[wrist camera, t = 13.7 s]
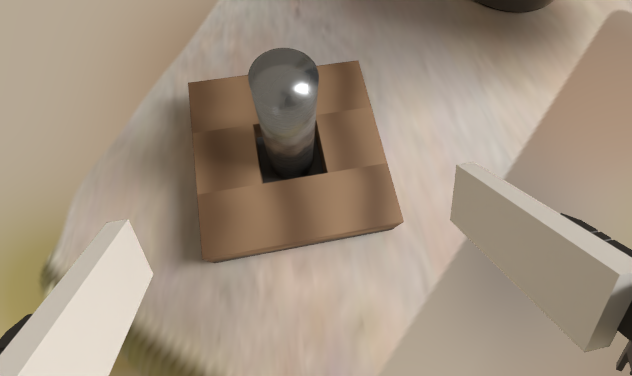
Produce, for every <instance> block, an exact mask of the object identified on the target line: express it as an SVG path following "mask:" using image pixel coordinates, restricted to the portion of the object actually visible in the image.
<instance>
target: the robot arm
mask: <svg viewBox="0 0 632 376" xmlns="http://www.w3.org/2000/svg"><path fill="white" fill-rule="evenodd" d="M476 1H478V2H480V3H482V4H484V5H486V6H489V7H492V8H495V9H499V10H503V11H510V12H526V11H533V10H536V9H540V8H542V7H544V6H546V5H548V4H550V3H551V2H552V1H553V0H476ZM450 220H451V221H452V222H453V223H454V224H455V225H456V226H457V227H458V228H459V229H460V230H461V231H462V232H463V233H464V234H465V235H466V236H467V237H468V238H469V239H470V240H471V241H472V242H473V243H474V244H475V245H476V246H477V247H478V248H479V249H480V250H481V251H482V252H483V253H484V254H485V255H486V256H487V257H488V258H489V259H490V260H491V261H492V262H493V263H494V264H495V265H496V266H497V267H498V268H499V269H500V270H501V271H502V272H503V273H504V274H505V275H506V276H507V277H509V279H510V280H511V281H512V282H513V283H514V284H515V285H516V286H517V287H518V288H520V290H521V291H522V292H523V293H524V294H526V295H527V296H528V297H529V298H530V299H531V300H532V301H533V302H534V303H535V304H536V305H537V306H538V307H539V308H540V309H541V310H542V311H543V312H544V313H545V314H546V315H547V316H548V317H549V318H550V319H551V320H552V321H553V322H554V323H555V324H556V325H557V326H558V327H559V328H560V329H561V330H562V331H563V332H564V333H565V334H566V335H567V336H568V337H569V338H570V339H571V340H572V341H573V342H574V343H575V344H576V345H577V346H578V347H579V348H580V349H581V350H582V351H583V352H587V351H592V350H596V349H600V348H604V347H609V346H610V344H611V342H612V341H613V339H614V337H615V335H616V333H617V331H619V332H620V333H621V334H623V335H624V336H625V337H627V339H629V342H628V344H627V345H626V347H625V349H624V351H623V352H622V354H621V356H620V358H619V360H618V362H617V365H616V370H619V371H622V370H623V368H624V366H625V365H626V363H627V362H629V364H630V368H631V372H630V375H632V250H631V249H629V248H627V247H626V246H624V245H622V244H620V243H619V242H617V241H615V240H611V238H610V237H609V236H607V235H605V234H604V233H602V232H598V230H596V229H595V228H593V227H592V226H590V225H588V224H586V223H585V222H583V221H581V220H578V219H576V218H573V217H570V216H568V215H565V214H562V213H561V214H559V213H557V212H556V211H554V210H552V209H551V208H549V207H548V206H546V205H544V204H543V203H541V202H539V201H538V200H536V199H534V198H533V197H531V196H529V195H528V194H526V193H524V192H523V191H521V190H519V189H518V188H516V187H515V186H513V185H511V184H510V183H508V182H506V181H505V180H503V179H501V178H500V177H498V176H496V175H495V174H493V173H491V172H490V171H488V170H486V169H485V168H483V167H482V166H480V165H478V164H477V163H475V162H470V163H464V164H458V165H457V166H456V174H455V183H454V191H453V200H452V208H451V217H450ZM152 276H153V273H152V270H151V268H150V266H149V264H148V262H147V259H146V257H145V255H144V253H143V251H142V248H141V246H140V244H139V242H138V240H137V237H136V235H135V233H134V231H133V229H132V226H131V224H130V222H129V220H128V219H125V220H119V221H113V222H107V223H106V224H105V225H104V227H103V228H102V229H101V230H100V232H99V233H98V234H97V235H96V237H95V238H94V239H93V240H92V242H91V243H90V244H89V245H88V246H87V248H86V249H85V250H84V251H83V253H82V254H81V255H80V256H79V258H78V259H77V260H76V261H75V263H74V264H73V265H72V266H71V268H70V269H69V270H68V271H67V273H66V274H65V275H64V276H63V278H62V279H61V280H60V281H59V282H58V284H57V285H56V286H55V287H54V289H53V290H52V291H51V292H50V294H49V295H48V296H47V297H46V299H45V300H44V301H43V302H42V304H41V305H40V306H39V307H38V309H37V310H36V311H35V312H34V313H33V314H29V315H26V316H25V317H24V318H23V319H22V320H20V321H19V322H18V323H17V324H15V325H14V326H13V327H12V328H10V329H9V330H8V331H7V332H6V333H5V334H4V335H3V336H2V337H1V339H0V376H109V374H110V371H111V369H112V367H113V365H114V362H115V360H116V358H117V356H118V353H119V351H120V349H121V347H122V344H123V342H124V340H125V337H126V335H127V333H128V331H129V328H130V326H131V324H132V322H133V319H134V317H135V315H136V313H137V310H138V308H139V306H140V303H141V301H142V299H143V297H144V294H145V292H146V290H147V288H148V285H149V283H150V281H151V279H152Z"/></svg>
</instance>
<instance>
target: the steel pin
mask: <svg viewBox="0 0 632 376" xmlns="http://www.w3.org/2000/svg"><path fill="white" fill-rule="evenodd" d="M248 81H249V86H250V90H251V94H252V97H253V101H254V105H255V109H256V113H257V117H258V120H259V124H260V128H261V132H262V136H263V140H264V144H265V147H266V151H267V155H268V159H269V163H270V166H271V169H272V171H273V172H274V173H275V174H276V175H277V176H279V177H280V178H283V179H286V180H288V179H294V178H300V177H303V176H305V175H306V174H307V173H308V172H309V170H310V168H311V166H312V159H313V147H314V134H315V121H316V109H317V96H318V84H319V74H318V70H317V67H316V65H315V63H314V62H313V61H312V60H311V59H310V58H309V57H308V56H307V55H305V54H304V53H302V52H300V51H298V50H294V49H290V48H277V49H273V50H269V51H267V52H265V53H263V54H262V55H260V56H259V57H258V58H257V59H256V60H255V61H254V62H253V64H252V65H251V67H250V70H249V74H248Z"/></svg>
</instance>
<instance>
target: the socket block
mask: <svg viewBox="0 0 632 376" xmlns="http://www.w3.org/2000/svg"><path fill="white" fill-rule="evenodd" d="M316 67H317V70H318V74H319V84H318V96H317V109H316V121H315V134H314V147H313V159H312V166H311V168H310V170H309V172H308V173H307V174H306V175H305V176H303V177H300V178H294V179H288V180H286V179H283V178H280V177H279V176H277V175H276V174H275V173H274V172H273V171H272V169H271V166H270V163H269V159H268V155H267V151H266V147H265V144H264V140H263V136H262V132H261V128H260V124H259V120H258V117H257V113H256V109H255V105H254V101H253V97H252V94H251V90H250V86H249V81H248V75H244V76H237V77H229V78H222V79H214V80H207V81H199V82H191V83H188V87H189V100H190V112H191V125H192V137H193V150H194V162H195V174H196V187H197V199H198V212H199V224H200V236H201V249H202V259H203V260H206V261H210V262H213V263H218V262H223V261H228V260H234V259H239V258H244V257H250V256H255V255H260V254H265V253H271V252H276V251H281V250H287V249H292V248H297V247H302V246H308V245H313V244H318V243H324V242H329V241H334V240H339V239H345V238H350V237H355V236H361V235H366V234H371V233H376V232H382V231H387V230H392V229H394V228H395V227H396V226H398V225H399V224H401V223H402V222H404V221H403V217H402V214H401V210H400V207H399V203H398V199H397V196H396V192H395V189H394V185H393V182H392V178H391V175H390V171H389V168H388V164H387V161H386V157H385V154H384V150H383V146H382V143H381V139H380V136H379V132H378V129H377V125H376V122H375V118H374V115H373V111H372V108H371V104H370V101H369V97H368V94H367V90H366V86H365V83H364V79H363V76H362V72H361V69H360V65H359V62H358V61H351V62H343V63H335V64H328V65H320V66H316Z"/></svg>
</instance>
